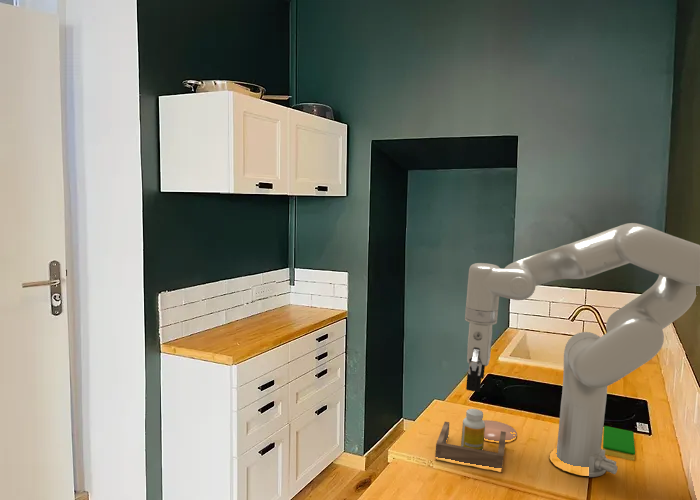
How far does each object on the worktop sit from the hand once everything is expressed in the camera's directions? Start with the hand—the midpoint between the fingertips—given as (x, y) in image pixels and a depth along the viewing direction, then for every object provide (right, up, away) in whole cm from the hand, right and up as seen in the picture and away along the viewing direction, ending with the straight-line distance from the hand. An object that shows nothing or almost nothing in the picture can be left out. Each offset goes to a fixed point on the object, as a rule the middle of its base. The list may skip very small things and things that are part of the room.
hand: (475, 383), depth 136 cm
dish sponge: (+38, -18, +7) cm, 43 cm away
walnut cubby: (-1, -17, 0) cm, 17 cm away
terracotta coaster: (+7, -16, +11) cm, 21 cm away
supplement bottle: (0, -17, +2) cm, 17 cm away
